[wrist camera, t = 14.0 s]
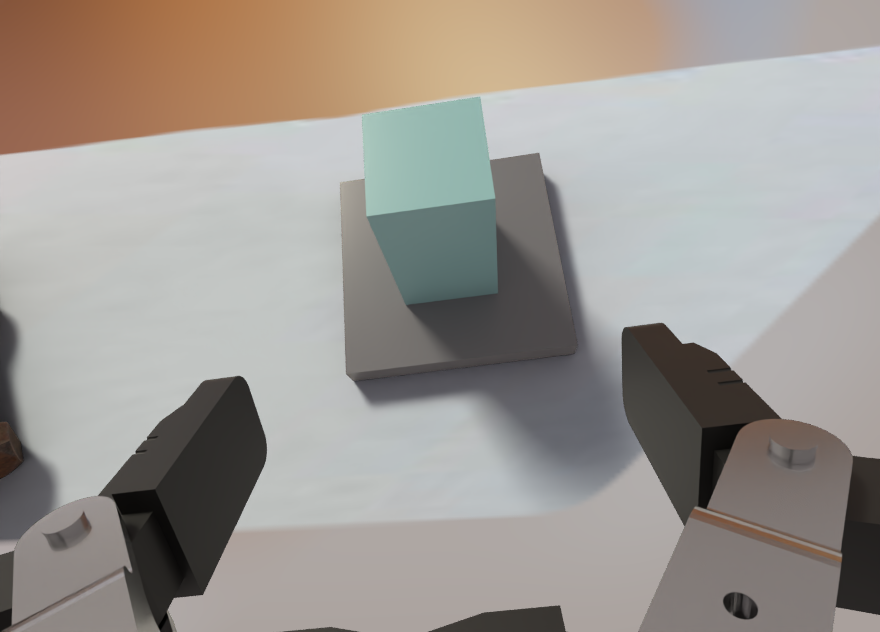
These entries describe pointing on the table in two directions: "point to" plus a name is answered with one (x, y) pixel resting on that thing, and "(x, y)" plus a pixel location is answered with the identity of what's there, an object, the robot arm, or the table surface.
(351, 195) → the base plate
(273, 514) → the table surface
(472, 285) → the block
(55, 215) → the table surface
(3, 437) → the bolt
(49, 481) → the table surface
